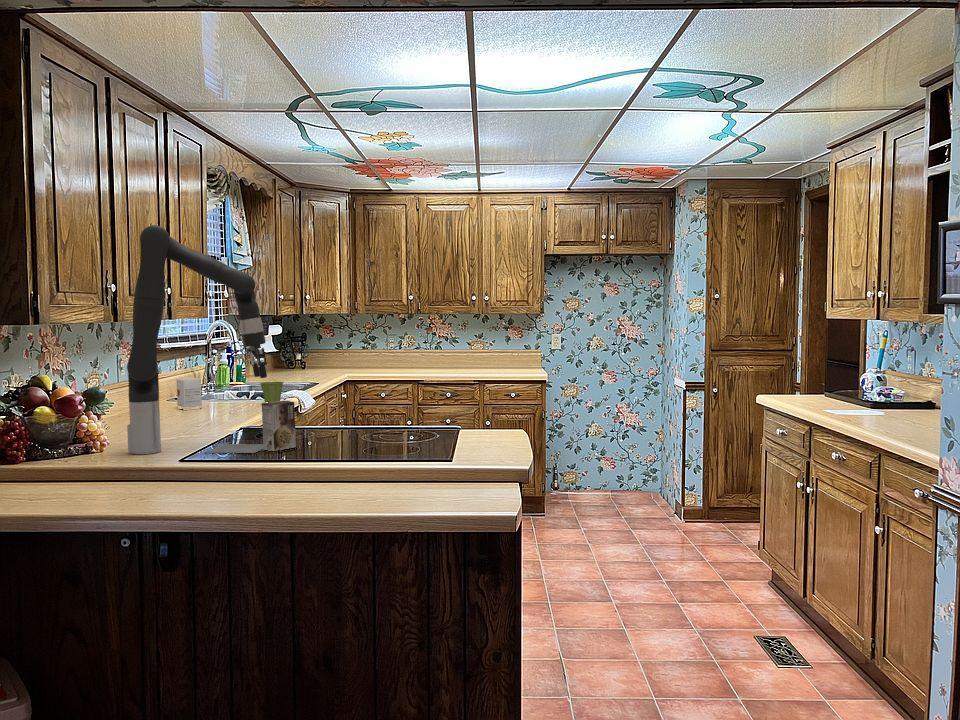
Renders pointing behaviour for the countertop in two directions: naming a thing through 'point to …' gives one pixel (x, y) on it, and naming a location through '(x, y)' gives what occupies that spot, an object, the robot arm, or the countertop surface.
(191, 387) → the supplement box
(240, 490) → the countertop surface
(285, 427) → the coffee box
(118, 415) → the countertop surface
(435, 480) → the countertop surface
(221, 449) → the mat
